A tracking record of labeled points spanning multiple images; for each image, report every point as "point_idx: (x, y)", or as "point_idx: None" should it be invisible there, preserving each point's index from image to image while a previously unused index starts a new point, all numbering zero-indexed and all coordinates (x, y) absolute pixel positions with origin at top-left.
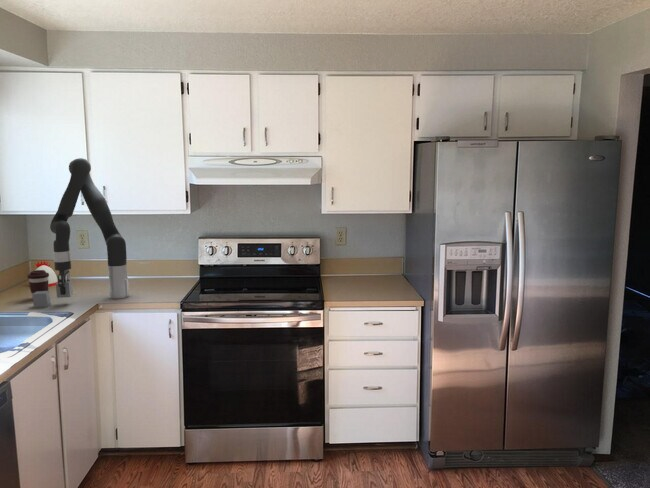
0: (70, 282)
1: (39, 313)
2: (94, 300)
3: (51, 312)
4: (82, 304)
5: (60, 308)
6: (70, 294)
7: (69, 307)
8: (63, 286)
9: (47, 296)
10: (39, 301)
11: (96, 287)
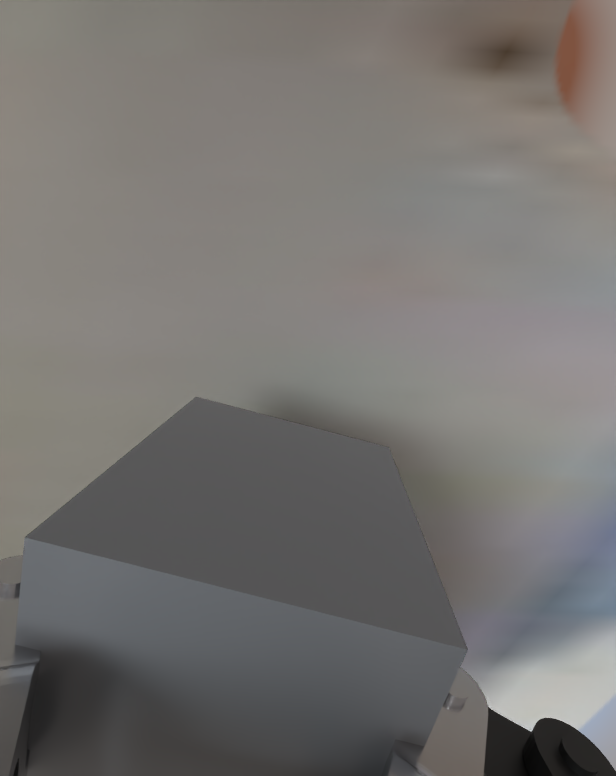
0: (251, 586)
1: (530, 679)
2: (226, 87)
3: (566, 591)
4: (385, 269)
5: (441, 509)
6: (353, 451)
7: (453, 422)
8: (578, 742)
9: None
10: None
11: None
